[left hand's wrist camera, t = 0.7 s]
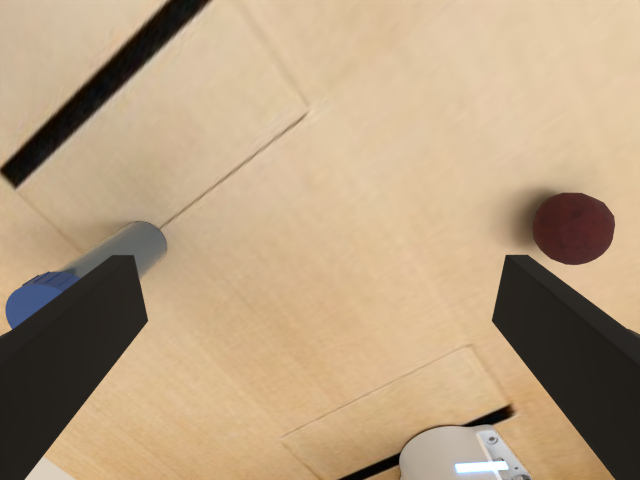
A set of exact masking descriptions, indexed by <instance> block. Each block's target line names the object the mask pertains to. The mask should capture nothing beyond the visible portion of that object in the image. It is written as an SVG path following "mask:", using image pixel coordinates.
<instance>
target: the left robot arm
mask: <svg viewBox="0 0 640 480" xmlns="http://www.w3.org/2000/svg"><path fill="white" fill-rule="evenodd" d="M147 322H148V318H147V313H146V308H145V304H144V299H143V294H142V290H141V285H140V280H139V276H138V271H137V266H136V261H135V257H134V255H112V256H110V257H109V258H108V259H106V260H105V261H104V262H102V263H101V264H100V265H98V266H97V267H96V268H94V269H93V270H91V271H90V272H89V273H87V274H86V275H85V276H83V277H82V278H81V279H79V280H78V281H77V282H75V283H74V284H73V285H71V286H70V287H69V288H67V289H66V290H65V291H63V292H62V293H61V294H59V295H58V296H57V297H55V298H54V299H53V300H51V301H50V302H49V303H47V304H46V305H45V306H43V307H42V308H40V309H39V310H38V311H36V312H35V313H34V314H32V315H31V316H30V317H28V318H27V319H26V320H24V321H23V322H22V323H20V324H19V325H18V326H16V327H15V328H14V329H12V330H11V331H9V332H7V333H5V334H3V335H1V336H0V480H25V478H26V477H27V476H28V474H29V473H30V472H31V471H32V469H33V468H34V467H35V465H36V464H37V463H38V462H39V460H40V459H41V458H42V457H43V455H44V454H45V453H46V451H47V450H48V449H49V448H50V446H51V445H52V444H53V442H54V441H55V440H56V439H57V437H58V436H59V435H60V433H61V432H62V431H63V430H64V428H65V427H66V426H67V424H68V423H69V422H70V421H71V419H72V418H73V417H74V415H75V414H76V413H77V412H78V410H79V409H80V408H81V406H82V405H83V404H84V403H85V401H86V400H87V399H88V397H89V396H90V395H91V394H92V392H93V391H94V390H95V388H96V387H97V386H98V385H99V383H100V382H101V381H102V380H103V378H104V377H105V376H106V374H107V373H108V372H109V371H110V369H111V368H112V367H113V365H114V364H115V363H116V362H117V360H118V359H119V358H120V356H121V355H122V354H123V353H124V351H125V350H126V349H127V347H128V346H129V345H130V344H131V342H132V341H133V340H134V338H135V337H136V336H137V335H138V333H139V332H140V331H141V329H142V328H143V327H144V326H145V324H146V323H147ZM492 322H493V323H494V324H495V326H496V327H497V328H498V329H499V331H500V332H501V333H502V335H503V336H504V337H505V338H506V340H507V341H508V342H509V344H510V345H511V346H512V347H513V349H514V350H515V351H516V353H517V354H518V355H519V356H520V358H521V359H522V360H523V362H524V363H525V364H526V365H527V367H528V368H529V369H530V371H531V372H532V373H533V374H534V376H535V377H536V378H537V380H538V381H539V382H540V383H541V385H542V386H543V387H544V388H545V390H546V391H547V392H548V394H549V395H550V396H551V397H552V399H553V400H554V401H555V403H556V404H557V405H558V406H559V408H560V409H561V410H562V412H563V413H564V414H565V415H566V417H567V418H568V419H569V421H570V422H571V423H572V424H573V426H574V427H575V428H576V430H577V431H578V432H579V433H580V435H581V436H582V437H583V439H584V440H585V441H586V442H587V444H588V445H589V446H590V448H591V449H592V450H593V451H594V453H595V454H596V455H597V457H598V458H599V459H600V460H601V462H602V463H603V464H604V466H605V467H606V468H607V469H608V471H609V472H610V473H611V475H612V476H613V477H614V478H615V480H640V334H638V333H636V332H634V331H632V330H630V329H626V328H625V327H624V326H622V325H621V324H620V323H618V322H617V321H616V320H614V319H613V318H612V317H610V316H609V315H608V314H606V313H605V312H604V311H602V310H601V309H600V308H598V307H597V306H595V305H594V304H593V303H591V302H590V301H589V300H587V299H586V298H585V297H583V296H582V295H581V294H579V293H578V292H577V291H575V290H574V289H573V288H571V287H570V286H569V285H567V284H566V283H565V282H563V281H562V280H561V279H559V278H558V277H557V276H555V275H554V274H553V273H551V272H550V271H549V270H547V269H546V268H544V267H543V266H542V265H540V264H539V263H538V262H536V261H535V260H534V259H532V258H531V257H530V256H528V255H506V257H505V261H504V266H503V271H502V276H501V280H500V285H499V290H498V294H497V299H496V304H495V308H494V313H493V318H492Z"/></svg>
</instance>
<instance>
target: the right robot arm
mask: <svg viewBox="0 0 640 480" xmlns="http://www.w3.org/2000/svg"><path fill="white" fill-rule="evenodd" d="M399 466H400V470H401V477H400V480H533V479H532V477H531V475H530V473H529V472H528V471H527V469H526V468H525V467H524V465H523V464H522V463H521V462H520V460H519V459H518V458H517V456H516V455H515V454H514V453H513V451H512V450H511V449H510V447H509V446H508V445H507V444H506V442H505V441H504V440H503V438H502V437H501V436H500V435H499V433H498V432H497V431H496V429H495V428H494V427H493V426H492V425H479V426H474V427H461V426H444V427H438V428H434V429H430V430H428V431H425V432H423V433H421V434H419V435H417V436H416V437H414V438H413V439H412V440H411V441H409V442H408V443H407V445H406V446H405V447H404V449H403V450H402V452H401V455H400V458H399Z"/></svg>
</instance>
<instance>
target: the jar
mask: <svg viewBox="0 0 640 480" xmlns="http://www.w3.org/2000/svg"><path fill="white" fill-rule="evenodd" d="M166 251H167V243H166V239H165V237H164V235H163V234H162V232H161V231H160V230H159V229H158V228H157V227H155V226H154V225H152V224H149V223H146V222H132V223H130V224H128V225H127V226H125V227H123V228H122V229H120V230H119V231H117V232H116V233H114V234H113V235H111V236H110V237H108V238H106V239H105V240H103V241H102V242H100V243H99V244H97V245H96V246H94V247H93V248H91V249H89V250H88V251H86V252H85V253H83V254H82V255H80V256H79V257H77V258H76V259H74V260H72V261H71V262H69V263H68V264H66V265H65V266H63V267H62V268H60V269H59V270H57V271H55V272H60V271H61V272H66V273H70V274H73V275H76V276H78V277H80V278H82V277H83V276H85V275H86V274H87V273H89V272H90V271H91V270H93V269H94V268H96V267H97V266H98V265H100V264H101V263H102V262H104V261H105V260H106V259H108V258H109V257H110V256H112V255H134V257H135V261H136V266H137V271H138V276H139V280H141V279H142V278H143V277H144V276H145V275H146V274H147V273H148V272H149V271H150V270H151V269H152V268H153V267H154V266H155V265H156V264H157V263H158V262H159V261H160V260H161V259H162V258H163V257H164V256H165V254H166Z"/></svg>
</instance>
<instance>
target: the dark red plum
mask: <svg viewBox="0 0 640 480" xmlns="http://www.w3.org/2000/svg"><path fill="white" fill-rule="evenodd" d="M614 228H615V221H614V216H613V214H612V213H611V212H610V210H609V209H608V208H607V206H606V205H605V204H604V203H603V202H601V201H599V200H597V199H595V198H593V197H590V196H588V195H585V194H583V193H561V194H558V195H556V196H553V197H551V198H549V199H548V200H547V201H545V202H544V203H543V204H542V205H541V207H540V208H539V210H538V211H537V213H536V217H535V220H534V224H533V236H534V240H535V242H536V243H537V245H538V247H539V248H540V250H541V251H543V252H544V253H545V254H546V255H547V256H548V257H549V258H551V259H553V260H555V261H558V262H561V263H564V264H568V265H580V264H584V263H588V262H590V261H593V260H595V259H597V258H598V257H599V256H601V255H602V254H603V253H604V252H605V251H606V250H607V249H608V248H609V246H610V244H611V242H612V239H613V233H614Z"/></svg>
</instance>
